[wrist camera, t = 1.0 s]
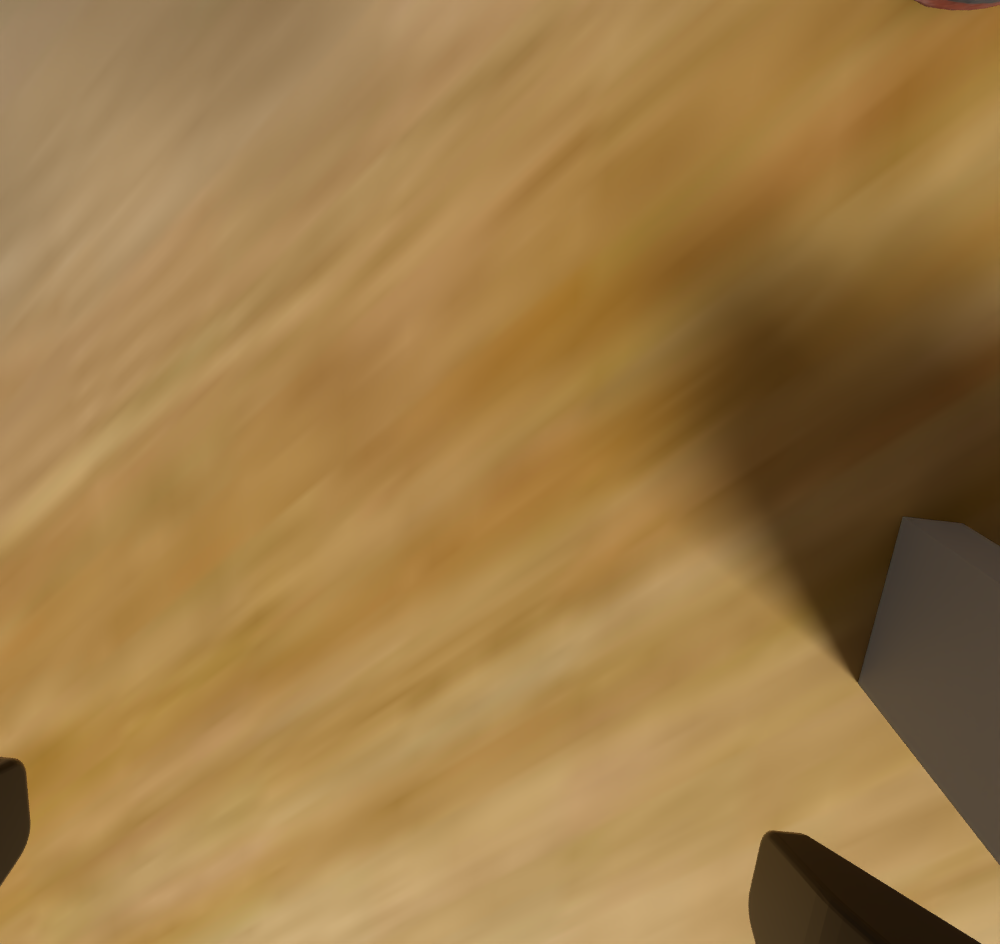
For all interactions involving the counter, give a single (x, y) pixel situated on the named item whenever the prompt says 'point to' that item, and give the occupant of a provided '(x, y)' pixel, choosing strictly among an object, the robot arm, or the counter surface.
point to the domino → (943, 663)
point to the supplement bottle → (959, 4)
